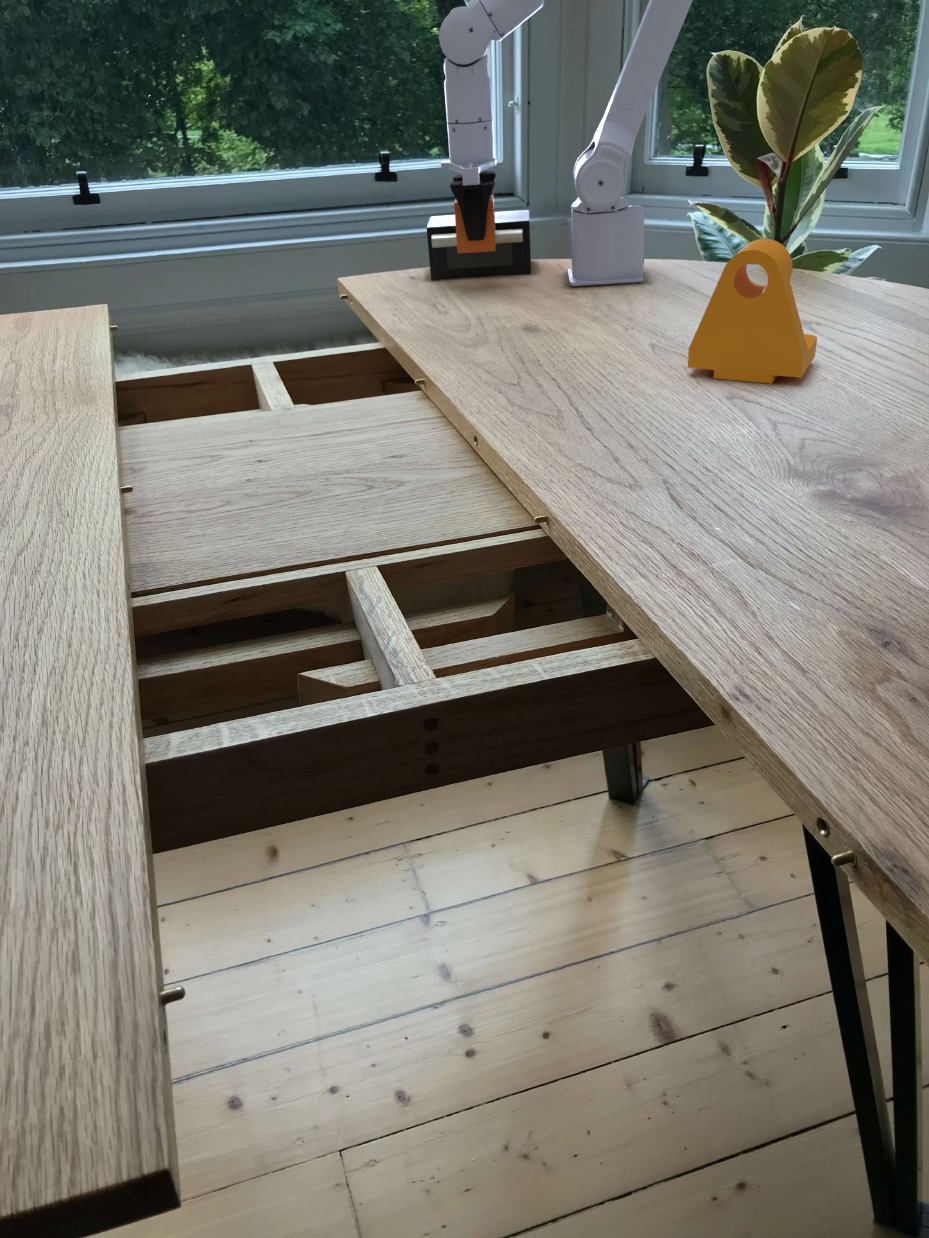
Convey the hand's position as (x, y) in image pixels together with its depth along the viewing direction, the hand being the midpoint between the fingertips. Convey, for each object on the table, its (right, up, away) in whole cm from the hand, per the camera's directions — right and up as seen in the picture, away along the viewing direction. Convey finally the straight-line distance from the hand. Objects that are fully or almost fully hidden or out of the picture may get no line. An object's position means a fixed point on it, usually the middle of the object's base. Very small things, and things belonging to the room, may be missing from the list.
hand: (476, 236), depth 129 cm
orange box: (0, -1, +1) cm, 2 cm away
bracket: (+27, -26, -33) cm, 50 cm away
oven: (+1, -2, +8) cm, 9 cm away
